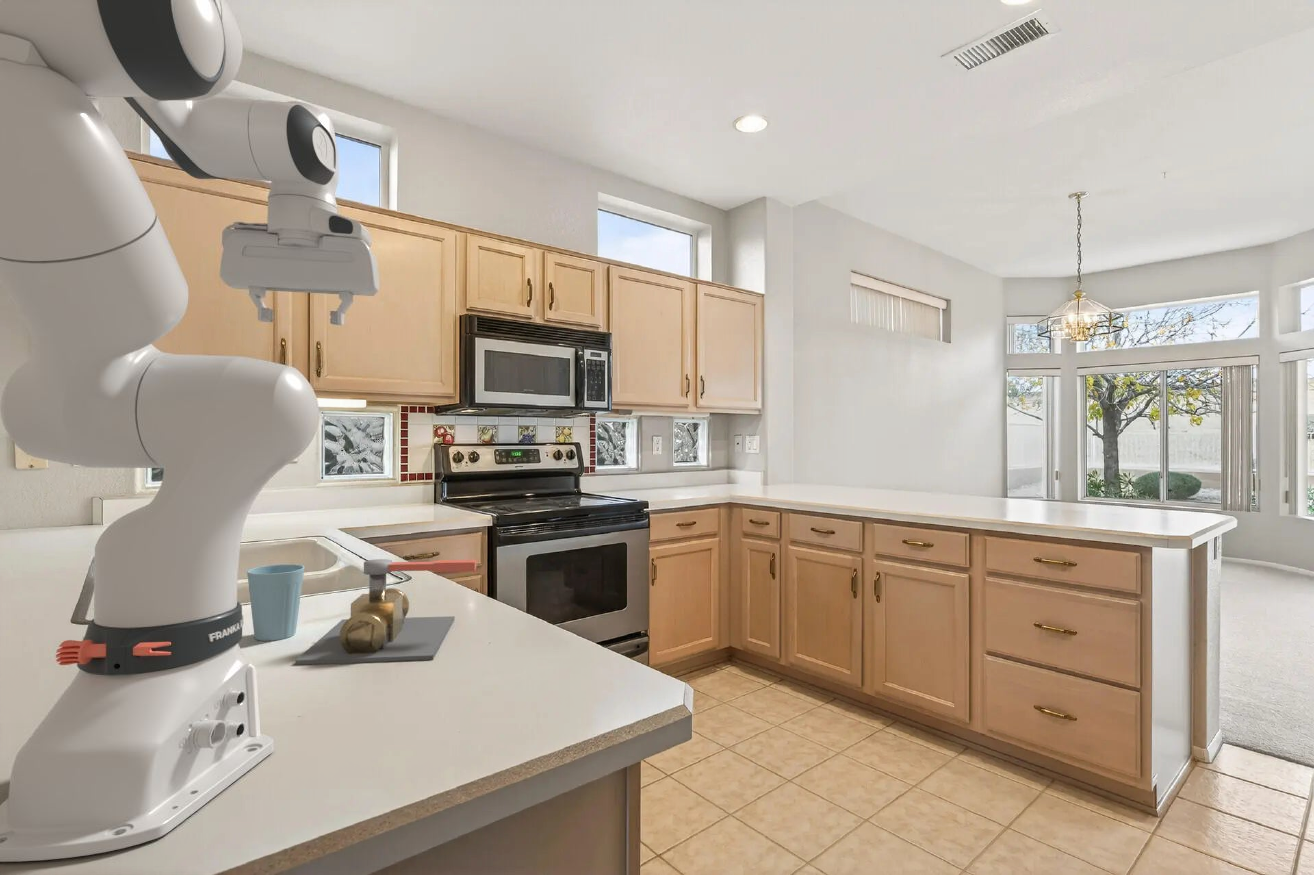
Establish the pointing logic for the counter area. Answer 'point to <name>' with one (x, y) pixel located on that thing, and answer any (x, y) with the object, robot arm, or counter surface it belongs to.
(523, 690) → the counter surface
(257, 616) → the cup
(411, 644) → the mat
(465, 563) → the lever
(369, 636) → the valve body
